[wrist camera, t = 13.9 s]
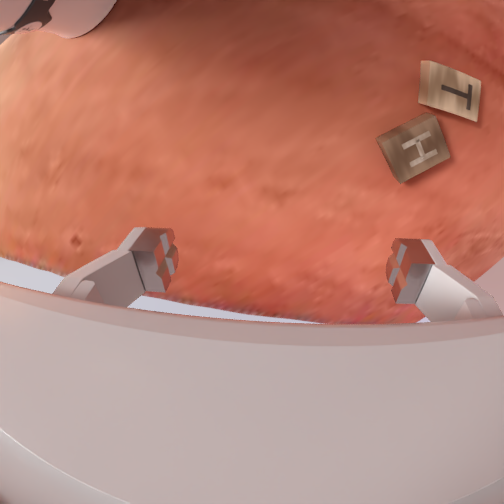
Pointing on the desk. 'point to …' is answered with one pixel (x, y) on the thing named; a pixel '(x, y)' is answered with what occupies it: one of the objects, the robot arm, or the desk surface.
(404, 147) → the wooden letter h block
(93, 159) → the desk surface
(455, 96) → the wooden letter t block
